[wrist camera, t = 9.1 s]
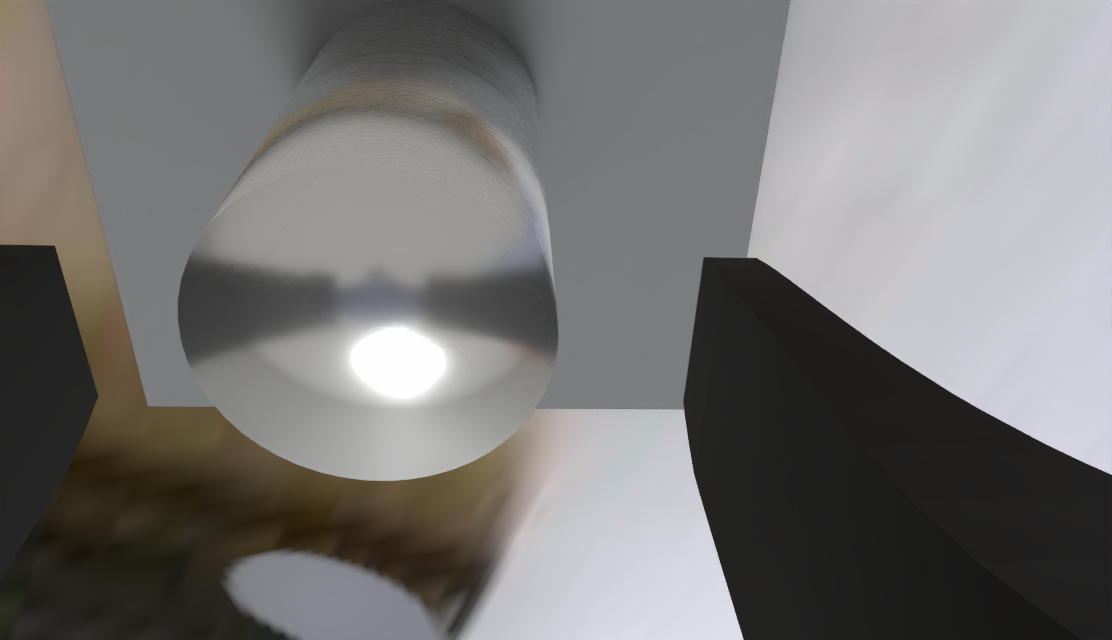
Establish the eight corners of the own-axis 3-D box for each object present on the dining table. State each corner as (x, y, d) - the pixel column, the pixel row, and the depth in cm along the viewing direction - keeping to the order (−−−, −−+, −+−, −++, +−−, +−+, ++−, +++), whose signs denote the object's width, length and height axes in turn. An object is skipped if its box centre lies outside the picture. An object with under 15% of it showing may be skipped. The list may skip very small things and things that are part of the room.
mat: (824, -256, 13) (833, -256, 13) (716, 395, 20) (720, 409, 19) (-12, -295, 13) (-31, -297, 12) (156, 391, 19) (148, 406, 18)
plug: (554, 17, 15) (587, 191, 9) (522, 234, 17) (531, 493, 11) (306, -19, 14) (162, 138, 8) (305, 209, 16) (190, 465, 10)
